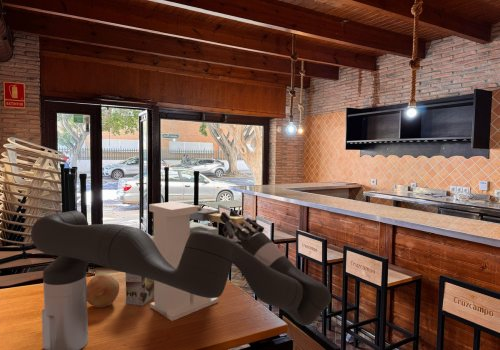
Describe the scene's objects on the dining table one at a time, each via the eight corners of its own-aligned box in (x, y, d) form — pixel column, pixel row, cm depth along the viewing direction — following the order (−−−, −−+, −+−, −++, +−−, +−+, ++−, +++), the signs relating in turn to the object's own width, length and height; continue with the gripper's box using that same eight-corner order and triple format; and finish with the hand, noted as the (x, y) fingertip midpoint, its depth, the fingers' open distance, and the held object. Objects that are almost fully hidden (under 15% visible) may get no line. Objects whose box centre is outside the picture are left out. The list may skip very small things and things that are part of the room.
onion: (125, 305, 106) (125, 274, 105) (93, 316, 99) (92, 283, 98) (111, 296, 113) (110, 266, 112) (79, 306, 105) (78, 274, 104)
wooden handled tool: (231, 226, 93) (231, 213, 93) (183, 217, 108) (183, 206, 108) (248, 222, 97) (248, 210, 97) (199, 215, 113) (199, 204, 113)
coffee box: (144, 306, 106) (143, 255, 104) (125, 304, 107) (124, 253, 106) (157, 293, 115) (157, 246, 113) (140, 292, 116) (139, 245, 115)
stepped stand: (172, 320, 97) (171, 209, 94) (150, 306, 105) (149, 204, 103) (217, 302, 109) (218, 203, 107) (194, 290, 117) (194, 198, 115)
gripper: (240, 271, 86) (203, 227, 95) (275, 258, 96) (239, 220, 105) (251, 249, 83) (211, 206, 92) (287, 238, 93) (248, 200, 102)
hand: (226, 213), depth 99 cm, fingers closed on wooden handled tool, 3 cm apart
